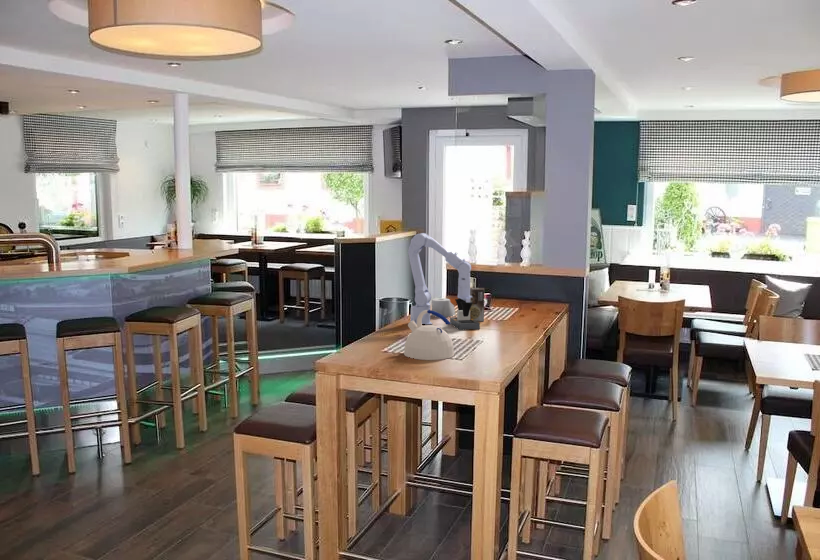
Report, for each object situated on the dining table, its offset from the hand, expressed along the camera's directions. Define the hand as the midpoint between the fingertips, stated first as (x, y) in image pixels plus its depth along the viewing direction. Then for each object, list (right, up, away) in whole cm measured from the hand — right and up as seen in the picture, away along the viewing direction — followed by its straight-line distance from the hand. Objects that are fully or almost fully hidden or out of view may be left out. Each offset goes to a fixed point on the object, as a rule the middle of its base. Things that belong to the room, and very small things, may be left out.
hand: (463, 315), depth 345 cm
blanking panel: (0, -5, +1) cm, 5 cm away
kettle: (-18, -13, -59) cm, 63 cm away
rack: (0, -5, -1) cm, 6 cm away
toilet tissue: (-8, -2, +27) cm, 29 cm away
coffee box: (+7, -4, +16) cm, 18 cm away
